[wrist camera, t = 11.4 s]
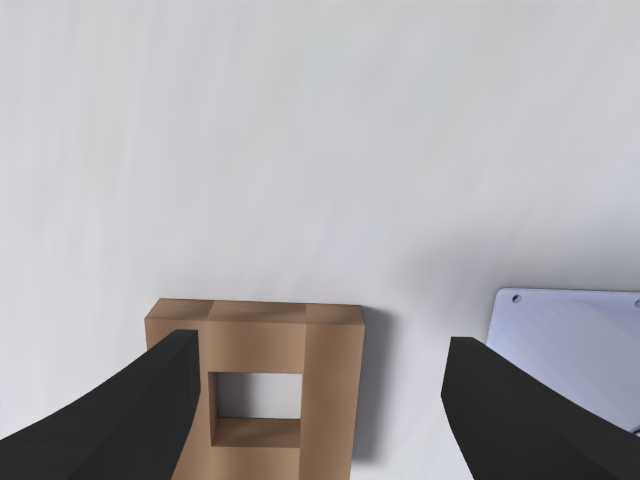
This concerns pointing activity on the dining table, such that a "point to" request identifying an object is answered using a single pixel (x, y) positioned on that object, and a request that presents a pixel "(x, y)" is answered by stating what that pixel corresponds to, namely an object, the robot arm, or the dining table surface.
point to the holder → (270, 357)
